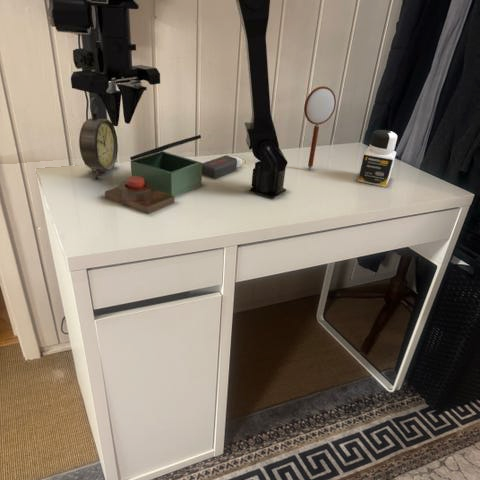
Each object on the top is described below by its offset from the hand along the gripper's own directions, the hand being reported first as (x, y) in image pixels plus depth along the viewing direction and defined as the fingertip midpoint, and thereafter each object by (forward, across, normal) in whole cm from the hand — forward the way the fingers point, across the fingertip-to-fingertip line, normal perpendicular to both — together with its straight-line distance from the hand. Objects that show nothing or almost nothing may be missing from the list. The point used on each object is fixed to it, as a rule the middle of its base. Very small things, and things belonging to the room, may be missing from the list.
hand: (121, 124), depth 96 cm
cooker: (+13, -7, +6) cm, 16 cm away
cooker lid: (+5, -7, +6) cm, 10 cm away
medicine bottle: (+13, -47, +41) cm, 64 cm away
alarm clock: (+13, -2, -10) cm, 17 cm away
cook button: (+10, +5, +8) cm, 14 cm away
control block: (+13, +4, +8) cm, 16 cm away
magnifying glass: (+13, -42, +25) cm, 51 cm away
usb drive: (+13, -24, +9) cm, 29 cm away
